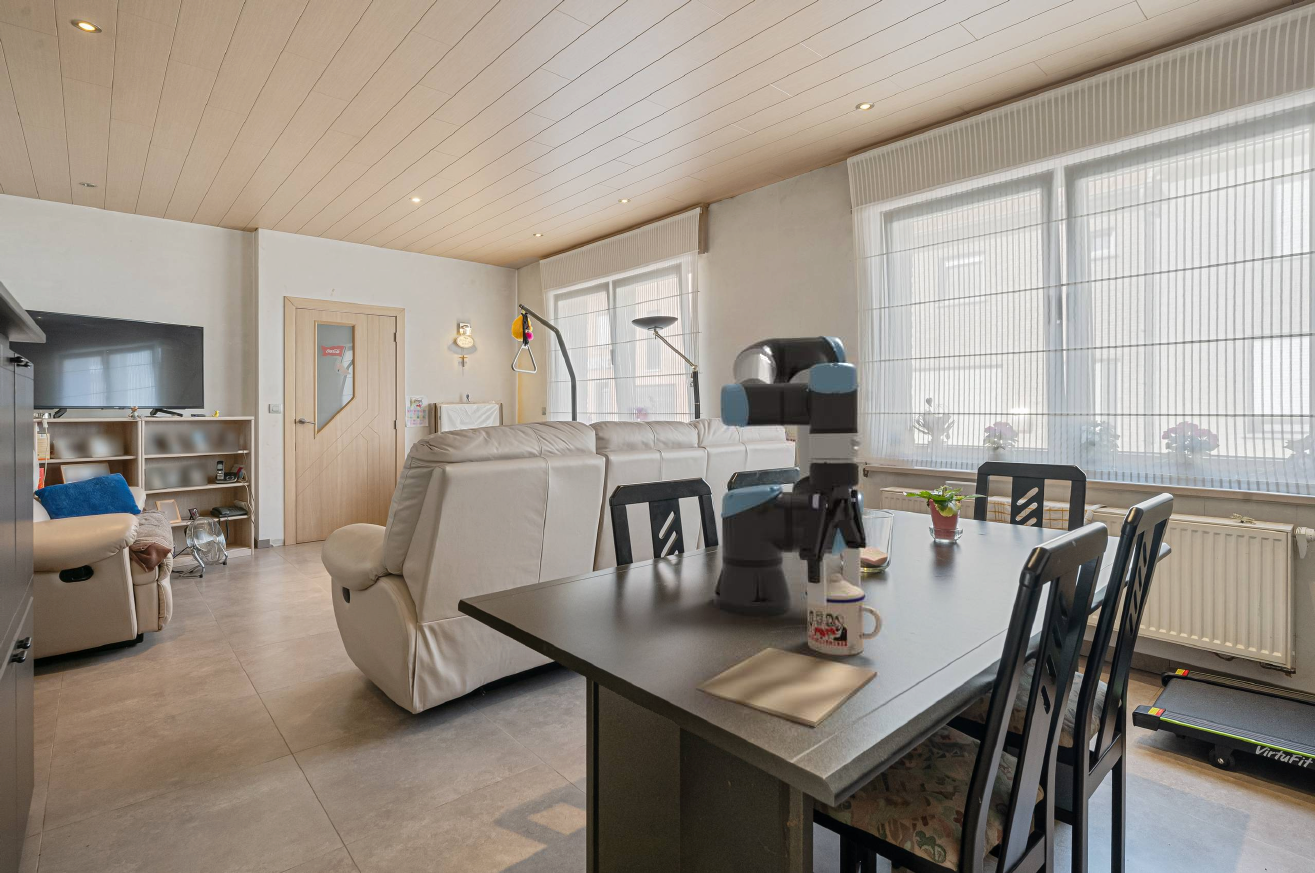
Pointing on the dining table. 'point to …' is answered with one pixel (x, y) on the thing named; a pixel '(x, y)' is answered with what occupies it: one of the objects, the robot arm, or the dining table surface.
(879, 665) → the dining table surface
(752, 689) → the cork mat
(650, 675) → the dining table surface
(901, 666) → the dining table surface
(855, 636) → the teacup with lid
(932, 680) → the dining table surface
